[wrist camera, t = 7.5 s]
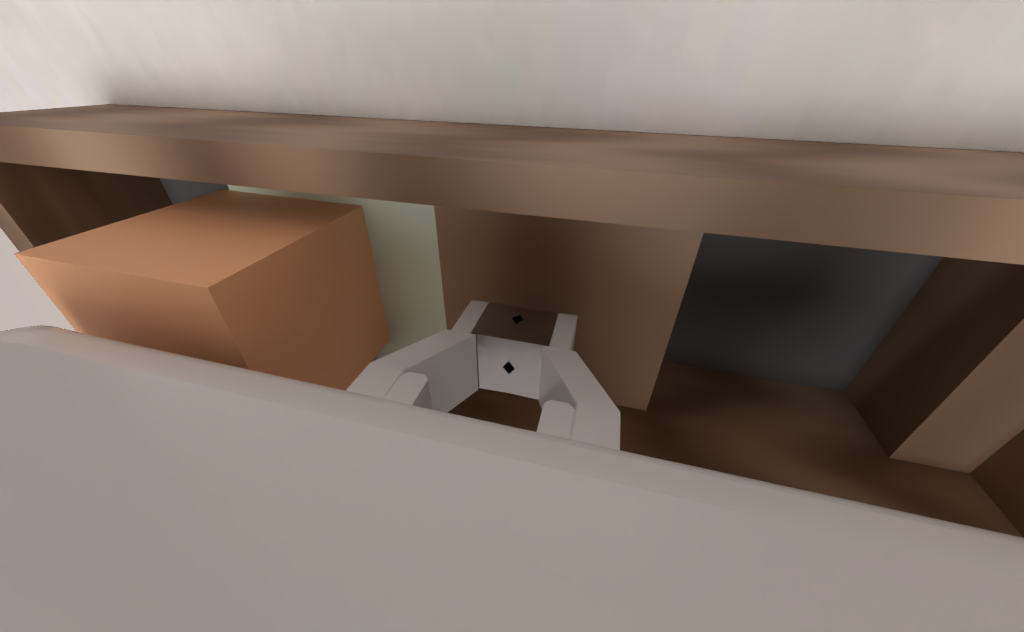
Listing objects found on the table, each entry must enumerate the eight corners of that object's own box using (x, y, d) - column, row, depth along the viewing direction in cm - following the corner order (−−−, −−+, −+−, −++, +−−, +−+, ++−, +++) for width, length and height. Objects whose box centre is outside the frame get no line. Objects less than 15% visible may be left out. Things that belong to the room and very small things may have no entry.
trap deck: (1175, 161, 8) (1675, 247, 4) (921, 423, 13) (1047, 574, 9) (109, 104, 15) (-87, 118, 11) (210, 298, 20) (104, 357, 16)
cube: (362, 205, 11) (207, 287, 7) (390, 340, 14) (292, 453, 10) (222, 189, 12) (14, 253, 8) (275, 318, 15) (142, 414, 11)
